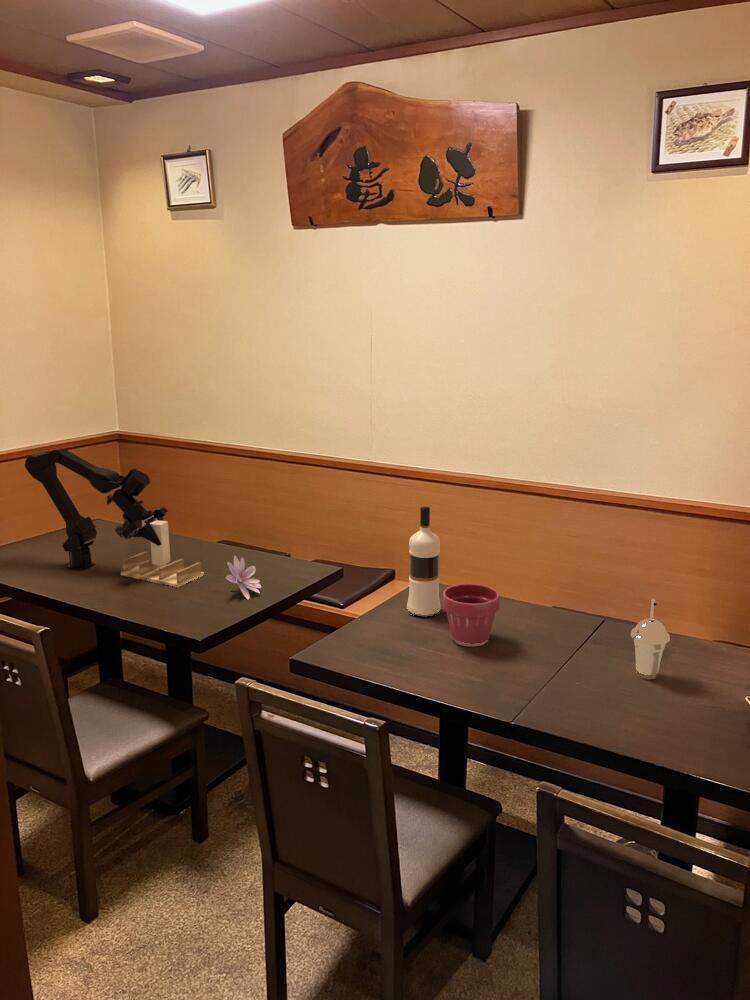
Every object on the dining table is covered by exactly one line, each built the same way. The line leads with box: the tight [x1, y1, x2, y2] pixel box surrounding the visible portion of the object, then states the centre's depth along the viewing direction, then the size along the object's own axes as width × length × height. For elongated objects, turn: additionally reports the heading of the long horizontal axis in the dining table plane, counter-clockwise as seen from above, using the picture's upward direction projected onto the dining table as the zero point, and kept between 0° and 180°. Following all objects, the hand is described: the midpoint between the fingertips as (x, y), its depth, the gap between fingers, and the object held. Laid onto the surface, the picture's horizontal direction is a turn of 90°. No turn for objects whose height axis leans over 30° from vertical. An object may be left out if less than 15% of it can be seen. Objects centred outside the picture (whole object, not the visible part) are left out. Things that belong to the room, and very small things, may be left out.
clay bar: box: [150, 520, 171, 566], centre depth 247 cm, size 4×4×13 cm
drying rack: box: [120, 551, 205, 589], centre depth 249 cm, size 23×12×4 cm, turn 62°
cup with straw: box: [630, 597, 671, 675], centre depth 182 cm, size 8×9×20 cm
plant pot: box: [442, 583, 501, 644], centre depth 202 cm, size 14×14×13 cm
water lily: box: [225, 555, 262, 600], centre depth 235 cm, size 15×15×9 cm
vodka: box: [406, 506, 442, 615], centre depth 217 cm, size 9×9×30 cm
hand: (163, 542), depth 246 cm, fingers closed on clay bar, 4 cm apart
